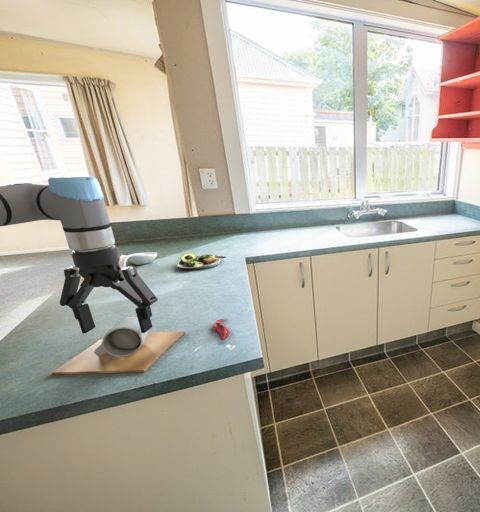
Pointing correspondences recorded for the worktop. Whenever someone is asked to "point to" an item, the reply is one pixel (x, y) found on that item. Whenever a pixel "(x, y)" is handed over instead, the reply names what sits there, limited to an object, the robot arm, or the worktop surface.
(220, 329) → the cayenne pepper
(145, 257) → the spoon rest
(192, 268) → the salad plate
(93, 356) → the cutting board
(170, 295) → the worktop surface
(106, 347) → the ceramic mug
